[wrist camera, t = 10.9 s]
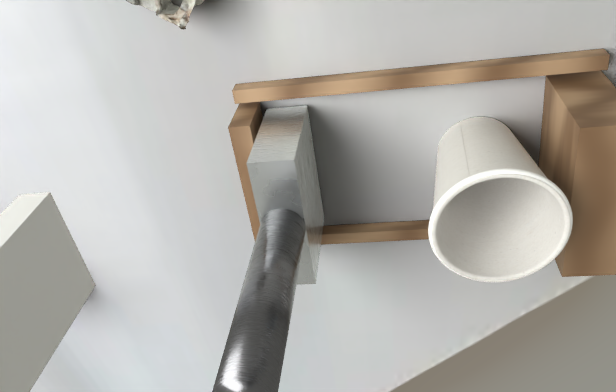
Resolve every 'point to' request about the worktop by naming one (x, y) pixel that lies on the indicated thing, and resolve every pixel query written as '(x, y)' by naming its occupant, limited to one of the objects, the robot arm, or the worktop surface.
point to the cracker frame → (553, 146)
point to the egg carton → (170, 9)
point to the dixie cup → (494, 205)
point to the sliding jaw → (275, 250)
